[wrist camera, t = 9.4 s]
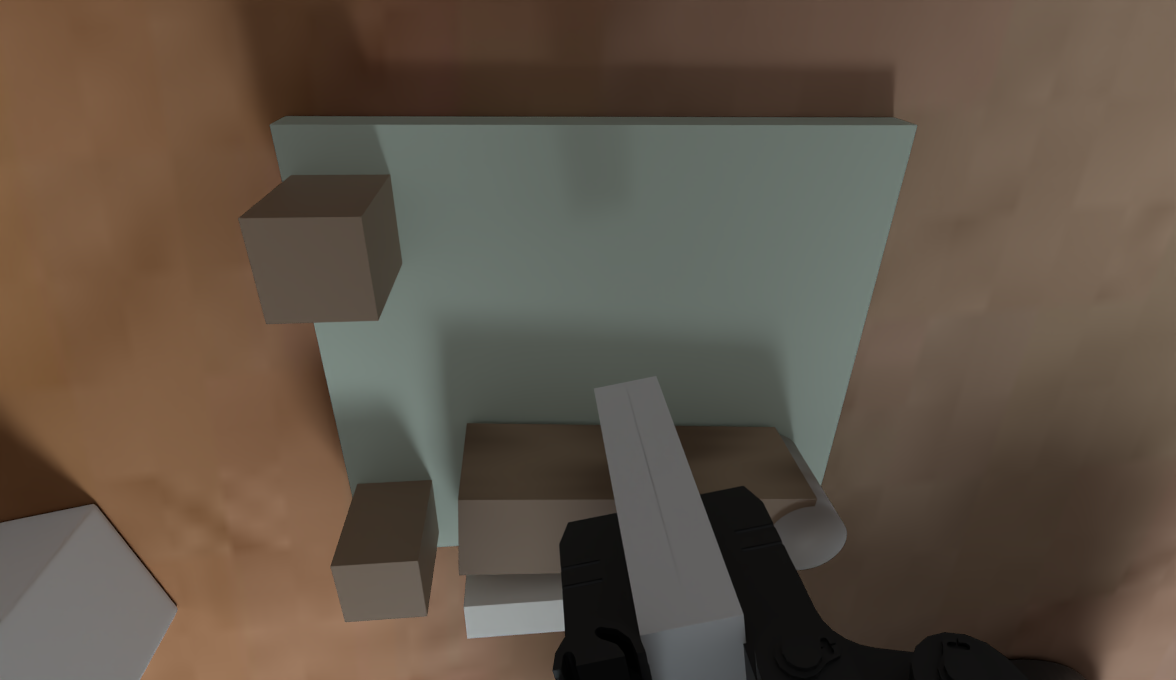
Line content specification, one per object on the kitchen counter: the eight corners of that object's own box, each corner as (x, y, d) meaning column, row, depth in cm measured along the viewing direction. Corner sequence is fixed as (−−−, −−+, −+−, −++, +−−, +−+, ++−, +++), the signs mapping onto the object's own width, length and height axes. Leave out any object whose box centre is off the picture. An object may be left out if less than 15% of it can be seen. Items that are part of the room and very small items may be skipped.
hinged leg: (807, 427, 22) (859, 505, 18) (786, 492, 23) (831, 576, 20) (466, 423, 20) (456, 508, 17) (467, 492, 22) (458, 583, 18)
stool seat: (894, 117, 18) (1019, 159, 14) (798, 501, 25) (859, 612, 21) (285, 116, 16) (197, 163, 12) (371, 526, 24) (337, 652, 19)
